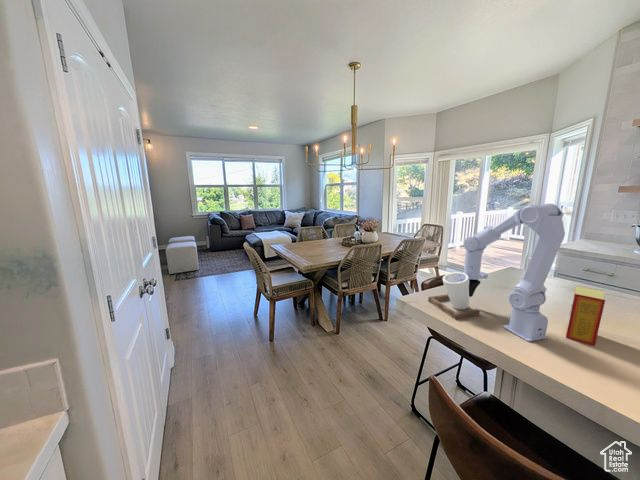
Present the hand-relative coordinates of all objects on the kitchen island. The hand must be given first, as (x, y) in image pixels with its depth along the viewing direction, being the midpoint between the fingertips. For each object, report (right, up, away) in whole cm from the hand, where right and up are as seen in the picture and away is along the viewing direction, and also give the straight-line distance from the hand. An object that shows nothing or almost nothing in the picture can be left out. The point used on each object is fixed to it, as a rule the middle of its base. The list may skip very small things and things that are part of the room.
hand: (469, 295), depth 106 cm
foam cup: (-4, -4, -1) cm, 6 cm away
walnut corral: (-7, -5, -1) cm, 8 cm away
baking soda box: (+24, -9, -22) cm, 34 cm away
